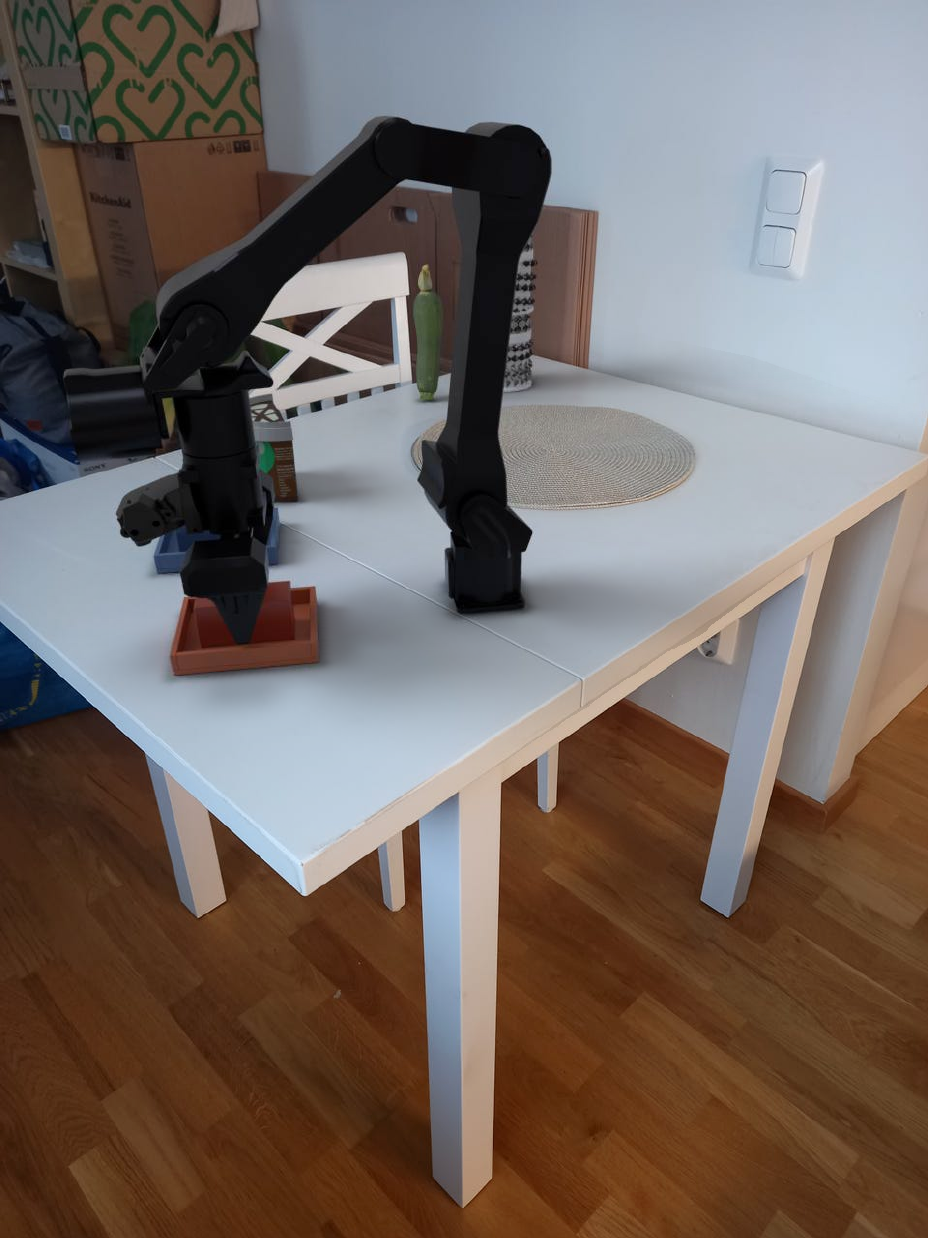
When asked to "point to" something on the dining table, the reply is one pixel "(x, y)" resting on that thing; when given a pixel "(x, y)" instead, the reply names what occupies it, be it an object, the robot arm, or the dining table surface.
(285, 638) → the red bar
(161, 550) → the blue tray
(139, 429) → the robot arm
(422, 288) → the vegetable
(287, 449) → the food container
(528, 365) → the decorative candle
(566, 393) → the dining table surface
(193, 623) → the orange tray
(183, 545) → the blue bar
